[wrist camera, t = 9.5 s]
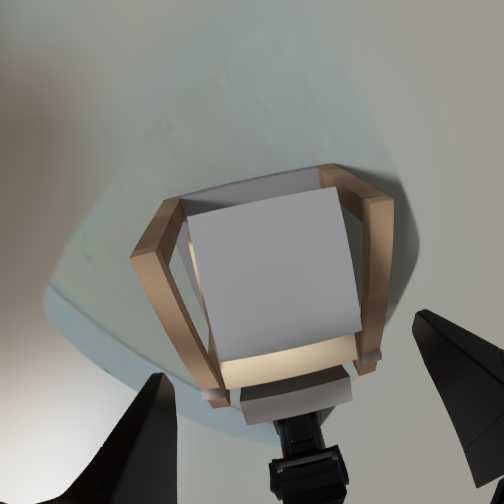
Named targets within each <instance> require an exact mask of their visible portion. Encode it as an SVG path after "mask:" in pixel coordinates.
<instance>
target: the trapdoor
mask: <svg viewBox="0 0 504 504" xmlns="http://www.w3.org/2000/svg"><path fill="white" fill-rule="evenodd" d="M186 233H187V238H188V243H189V248H190V252H191V257H192V261H193V266H194V270H195V274H196V279H197V283H198V287H199V291H200V295H201V299H202V304H203V307H204V311H205V315H206V319H207V323H208V327H209V331H210V334H211V338H212V342H213V345H214V349H215V352H216V356H217V359H218V363H219V366H220V370H221V373H222V377H223V380H224V383H225V386H226V390H228V389H234V388H240V387H241V395H240V405H241V408H242V411H243V414H244V417H245V421H246V424H247V425H250V424H256V423H262V422H268V421H273V420H278V419H283V418H288V417H293V416H297V415H301V414H306V413H310V412H314V411H318V410H321V409H325V408H329V407H332V406H335V405H339V404H342V403H345V402H349V401H352V392H351V382H350V376H349V374H348V373H347V372H346V370H345V369H344V368H343V366H342V365H341V364H344V363H347V362H350V361H353V360H356V359H358V358H357V350H356V342H355V334H354V333H352V334H348V335H345V336H341V337H338V338H334V339H330V340H327V341H323V342H319V343H315V344H311V345H307V346H302V347H298V348H294V349H289V350H285V351H280V352H275V353H270V354H265V355H260V356H255V357H250V358H244V359H238V360H232V361H226V362H220V360H219V356H218V352H217V349H216V345H215V341H214V337H213V333H212V329H211V325H210V321H209V317H208V313H207V309H206V305H205V300H204V296H203V292H202V287H201V283H200V279H199V274H198V269H197V265H196V260H195V255H194V250H193V246H192V241H191V236H190V230H189V231H186Z"/></svg>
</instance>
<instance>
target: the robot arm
mask: <svg viewBox="0 0 504 504" xmlns="http://www.w3.org/2000/svg"><path fill="white" fill-rule="evenodd" d="M412 333H413V336H414V338H415V340H416V343H417V345H418V348H419V350H420V353H421V355H422V358H423V360H424V363H425V365H426V368H427V370H428V372H429V374H430V376H431V378H432V380H433V382H434V384H435V386H436V388H437V390H438V392H439V394H440V396H441V398H442V400H443V403H444V405H445V407H446V409H447V412H448V414H449V416H450V418H451V420H452V423H453V425H454V427H455V430H456V432H457V435H458V437H459V440H460V443H461V445H462V448H463V449H464V453H465V456H466V459H467V462H468V464H469V467H470V470H471V473H472V476H473V479H474V482H475V485H476V488H479V487H481V486H483V485H485V484H487V483H489V482H491V481H493V480H495V479H497V478H498V477H500V476H502V475H504V350H503V349H501V348H500V349H499V348H498V347H497V346H495V345H493V344H492V343H489V342H488V341H486V340H484V339H482V338H480V337H479V336H477V335H475V334H473V333H471V332H469V331H467V330H465V329H464V328H462V327H460V326H458V325H456V324H454V323H452V322H451V321H449V320H447V319H445V318H443V317H441V316H439V315H437V314H435V313H433V312H431V311H429V310H427V309H423V310H421V311H418V312H417V313H416V314H415V318H414V322H413V326H412ZM273 424H274V426H275V429H276V432H277V434H278V435H279V436H280V442H281V448H282V453H283V458H281V459H272V462H271V463H269V470H270V490H271V492H273V493H274V494H275V495H276V496H277V498H278V500H283V504H343V502H344V500H345V497H346V494H347V490H346V486H345V485H348V484H349V478H348V473H347V469H346V466H345V463H344V461H343V458H342V455H341V453H340V450H339V447H338V445H334V446H332V447H329V448H326V446H325V442H324V439H323V435H322V432H321V428H320V425H321V410H318V411H314V412H310V413H306V414H301V415H297V416H293V417H288V418H283V419H278V420H273ZM281 470H283V471H282V472H281ZM0 504H7V503H4V502H0ZM37 504H177V416H176V403H175V390H174V386H173V384H172V383H171V382H170V380H169V379H168V378H167V376H166V375H165V374H164V373H162V372H161V373H153V374H152V375H151V376H150V377H149V379H148V380H147V382H146V383H145V385H144V386H143V387H142V389H141V390H140V392H139V393H138V395H137V396H136V397H135V399H134V400H133V402H132V403H131V405H130V406H129V407H128V409H127V410H126V412H125V413H124V415H123V416H122V418H121V419H120V420H119V422H118V423H117V425H116V426H115V428H114V429H113V431H112V432H111V433H110V435H109V436H108V438H107V439H106V441H105V442H104V444H103V447H101V448H100V449H99V451H98V452H97V454H96V455H95V456H94V458H93V459H92V461H91V462H90V463H89V465H88V466H87V467H86V468H85V470H84V471H83V472H82V473H81V474H80V476H79V477H78V478H77V479H76V480H75V481H74V482H73V483H72V485H71V486H70V487H69V488H68V489H67V490H66V491H65V492H64V493H63V494H62V495H60V496H59V497H56V498H54V499H51V500H48V501H44V502H41V503H37ZM490 504H504V477H503V478H502V479H500V480H499V482H498V485H497V488H496V491H495V493H494V496H493V498H492V501H491V503H490Z"/></svg>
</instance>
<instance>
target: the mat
mask: <svg viewBox="0 0 504 504" xmlns="http://www.w3.org/2000/svg"><path fill="white" fill-rule="evenodd" d="M318 189H323V188H322V187H321V186H320V180H319V173H318V168H317V167H316V166H313V167H307V168H301V169H296V170H291V171H285V172H280V173H275V174H270V175H265V176H261V177H256V178H251V179H247V180H242V181H238V182H233V183H229V184H225V185H221V186H217V187H212V188H208V189H204V190H200V191H197V192H193V193H189V194H185V195H181V197H180V200H181V203H182V207H183V210H184V213H185V218H184V221H183V224H182V227H181V230H180V232H179V235H178V238H177V241H176V245H177V247H178V250H179V253H180V256H181V258H182V261H183V264H184V266H185V269H186V272H187V274H188V277H189V279H190V282H191V285H192V287H193V290H194V292H195V295H196V297H197V300H198V302H199V305H200V307H201V309H202V312H203V314H204V317H205V319H206V315H205V311H204V307H203V304H202V299H201V295H200V291H199V287H198V283H197V279H196V274H195V270H194V266H193V261H192V257H191V252H190V248H189V243H188V238H187V233H186V231H189V225H188V220H187V217H189V216H193V215H197V214H201V213H206V212H210V211H214V210H219V209H223V208H228V207H232V206H237V205H241V204H246V203H251V202H256V201H260V200H265V199H270V198H275V197H280V196H285V195H291V194H296V193H301V192H307V191H312V190H318ZM206 321H207V319H206ZM207 324H208V323H207Z"/></svg>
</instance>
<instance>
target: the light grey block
mask: <svg viewBox="0 0 504 504" xmlns="http://www.w3.org/2000/svg"><path fill="white" fill-rule="evenodd" d="M187 220H188V225H189V230H190V236H191V241H192V246H193V250H194V255H195V260H196V265H197V269H198V274H199V279H200V283H201V287H202V292H203V296H204V300H205V305H206V309H207V313H208V317H209V321H210V325H211V329H212V333H213V337H214V341H215V345H216V349H217V352H218V356H219V360H220V362H226V361H232V360H238V359H244V358H250V357H255V356H260V355H265V354H270V353H275V352H280V351H285V350H289V349H294V348H298V347H302V346H307V345H311V344H315V343H319V342H323V341H327V340H330V339H334V338H338V337H341V336H345V335H348V334H352V333H355V332H359V331H362V325H361V317H360V310H359V302H358V295H357V289H356V283H355V276H354V271H353V265H352V259H351V254H350V249H349V244H348V239H347V234H346V229H345V224H344V220H343V215H342V211H341V207H340V202H339V198H338V194H337V190H336V186H335V187H329V188H324V189H318V190H312V191H307V192H301V193H296V194H291V195H285V196H280V197H275V198H270V199H265V200H260V201H256V202H251V203H246V204H241V205H237V206H232V207H228V208H223V209H219V210H214V211H210V212H206V213H201V214H197V215H193V216H189V217H187Z"/></svg>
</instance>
